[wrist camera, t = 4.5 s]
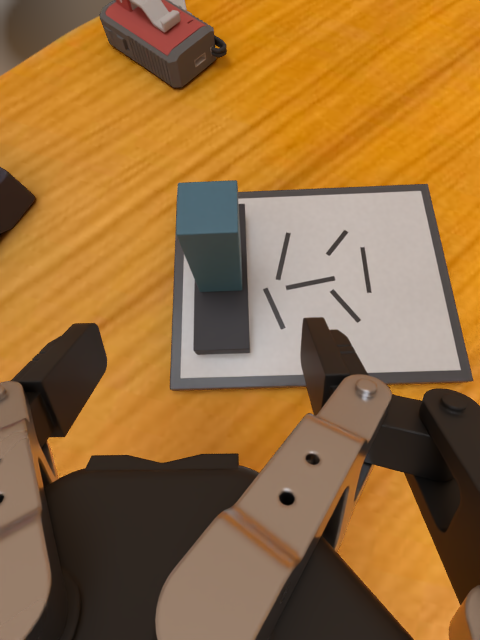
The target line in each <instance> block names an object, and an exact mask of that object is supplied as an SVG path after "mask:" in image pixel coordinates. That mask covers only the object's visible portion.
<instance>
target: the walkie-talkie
mask: <svg viewBox="0 0 480 640" xmlns="http://www.w3.org/2000/svg"><path fill="white" fill-rule="evenodd" d="M99 15H100V20H101V22H102V25H103V27H104V30H105V33H106V35H107V38H108V41H109V43H110V44H111V45H113V46H114V47H115V48H117V49H118V50H120V51H121V52H123V53H124V54H126V55H127V56H128V57H130V58H131V59H133V60H134V61H136V62H138V63H139V64H141V66H144V67H145V68H146V69H148V70H149V71H151V72H152V73H154V74H155V75H156V76H158V77H159V78H161V79H162V80H163V81H165V82H166V83H168V84H169V85H170V86H173V88H175V87H183V86H184V85H186V84H187V83H188V82H189V81H190V80H192V79H193V78H194V77H195V76H197V75H198V74H199V73H200V72H202V71H203V70H204V69H205V68H206V67H208V66H209V65H210V64H211V63H213V62H214V61H215V60H216V57H222V56H224V55H225V54H226V52H227V50H226V44H225V42H224V41H223V40H221V39H220V38H218V37H216V36H215V35H214V30H213V27H211V26H210V25H208V24H206V23H205V22H203V21H202V20H199V19H198V18H196V17H195V16H193V15H192V14H191V13H190V12H188V11H187V9H186V5H185V0H113V1H112V2H110V3H109V4H107V5H106V6H105V7H103V8H102V10H101V12H100V14H99ZM215 45H216V46H218V47H220V48H219V49H218V48H215Z"/></svg>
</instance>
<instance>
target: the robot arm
mask: <svg viewBox="0 0 480 640" xmlns="http://www.w3.org/2000/svg"><path fill="white" fill-rule="evenodd" d="M300 358H301V367H302V371H303V375H304V379H305V382H306V386H307V390H308V394H309V398H310V401H311V405H312V409H313V413H314V415H313V414H311V413H308V414H306V415H305V416H304V417H303V419H302V420H301V421H300V422H299V424H298V425H297V426H296V428H295V429H294V430H293V431H292V433H291V434H290V435H289V436H288V438H287V439H286V440H285V441H284V443H283V444H282V445H281V447H280V448H279V449H278V450H277V452H276V453H275V454H274V455H273V457H272V458H271V459H270V460H269V462H268V463H267V464H266V466H265V467H264V468H263V469H262V471H261V472H260V473H259V472H257V471H255V470H252V469H250V468H247V467H243V466H239V457H238V454H200V455H196V456H192V457H187V458H183V459H179V460H175V461H170V462H166V463H159V462H155V461H150V460H146V459H142V458H138V457H133V456H129V455H99V456H91V458H90V460H89V462H88V465H87V467H86V468H85V469H81V470H78V471H75V472H72V473H70V474H68V475H65V476H63V477H61V478H59V479H58V475H57V471H56V467H55V463H54V460H53V456H52V452H51V448H50V446H49V444H48V442H47V439H48V438H49V437H65V436H66V434H67V433H68V431H69V429H70V428H71V426H72V425H73V423H74V421H75V420H76V418H77V416H78V415H79V413H80V412H81V410H82V408H83V407H84V405H85V403H86V402H87V400H88V399H89V397H90V395H91V394H92V392H93V391H94V389H95V387H96V386H97V384H98V382H99V381H100V379H101V378H102V376H103V374H104V373H105V370H106V367H107V357H106V353H105V349H104V346H103V342H102V339H101V335H100V332H99V328H98V326H97V325H96V324H95V323H77V324H73V325H72V326H71V327H70V328H69V329H68V330H67V331H66V332H65V333H64V334H63V335H62V336H60V337H58V338H57V339H55V340H53V341H52V342H50V343H48V344H47V345H46V346H45V347H44V348H43V349H42V350H41V351H40V352H39V354H37V355H36V356H35V357H34V358H33V360H32V361H30V362H29V363H28V364H27V365H26V366H25V367H24V368H23V369H22V370H21V371H20V372H19V373H18V374H17V375H16V376H15V377H14V378H13V379H12V380H11V381H7V382H1V383H0V640H414V639H413V638H412V637H411V636H410V635H409V634H408V632H407V631H406V630H405V629H404V628H403V627H402V626H401V625H400V623H399V622H398V621H397V620H396V619H395V618H394V617H393V615H392V614H391V613H390V612H389V611H388V610H387V609H386V608H385V606H384V605H383V604H382V603H381V602H380V601H379V600H378V599H377V597H376V596H375V595H374V594H373V593H372V592H371V591H370V589H369V588H368V587H367V586H366V585H365V584H364V583H363V582H362V580H361V579H360V578H359V577H358V576H357V575H356V574H355V573H354V571H353V570H352V569H351V568H350V567H349V566H348V565H347V564H346V562H345V561H344V560H343V559H342V558H341V557H340V556H339V554H338V553H337V551H338V549H339V547H340V545H341V543H342V540H343V538H344V535H345V533H346V530H347V527H348V524H349V521H350V518H351V515H352V513H353V510H354V508H355V506H356V504H357V502H358V499H359V497H360V495H361V493H362V491H363V488H364V486H365V484H366V482H367V480H368V478H369V475H370V473H371V471H372V469H373V467H374V465H378V466H381V467H385V468H389V469H393V470H396V471H400V472H404V474H405V476H406V478H407V481H408V483H409V485H410V488H411V490H412V492H413V495H414V497H415V499H416V502H417V504H418V506H419V509H420V511H421V514H422V516H423V518H424V521H425V523H426V525H427V528H428V530H429V532H430V535H431V537H432V539H433V542H434V544H435V546H436V549H437V551H438V554H439V556H440V558H441V561H442V563H443V565H444V568H445V570H446V572H447V575H448V577H449V579H450V582H451V584H452V587H453V589H454V591H455V594H456V596H457V598H458V601H459V603H460V605H461V606H460V607H459V609H458V610H457V612H456V613H455V615H454V616H453V618H452V620H451V622H450V626H449V640H480V406H479V405H478V404H477V403H476V402H475V401H474V400H472V399H471V398H469V397H467V396H466V395H464V394H461V393H459V392H456V391H453V390H449V389H432V390H429V391H427V392H426V393H425V394H424V397H423V400H422V401H420V400H415V399H410V398H405V397H400V396H396V395H393V394H392V393H391V390H390V388H389V387H388V386H387V385H386V384H385V383H384V382H382V381H381V380H379V379H377V378H375V377H372V376H369V375H368V373H367V371H366V370H365V368H364V366H363V364H362V362H361V361H360V359H359V357H358V355H357V353H356V351H355V350H354V348H353V346H352V344H351V342H350V341H349V339H348V337H347V336H346V335H345V334H343V333H342V332H341V331H339V330H338V329H335V330H329V328H328V325H327V323H326V321H325V319H324V318H323V317H309V318H303V323H302V337H301V351H300Z"/></svg>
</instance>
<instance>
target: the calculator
mask: <svg viewBox="0 0 480 640" xmlns="http://www.w3.org/2000/svg"><path fill="white" fill-rule="evenodd" d="M34 200H35V196H34V195H33V194H32V193H31V192H30V191H29V190H27V189H26V188H25V187H24V186H23V185H22V184H21V183H20V182H19V181H18V180H16V179H15V178H14V177H13V176H12V175H11V174H10V173H9V172H7V171H6V170H5V169H3V168H1V167H0V234H1V233H3V232H5V231H8V230H10V229H12V228H13V227H14V226H15V224H16V223H17V222H18V221H19V219H20V218H21V217H22V216H23V214H24V213H25V212H26V211H27V209H28V208H29V207H30V206H31V204H32V203H33V202H34Z"/></svg>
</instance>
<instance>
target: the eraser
mask: <svg viewBox="0 0 480 640" xmlns="http://www.w3.org/2000/svg"><path fill="white" fill-rule="evenodd" d="M176 236H177V238H178V241H179V243H180V245H181V248H182V250H183V253H184V255H185V257H186V260H187V262H188V265H189V267H190V269H191V272H192V274H193V277H194V279H195V284H194V342H193V351H194V352H195V353H196V354H197V355H206V354H239V353H250V337H249V308H248V279H247V250H246V221H245V204H238V187H237V181H236V180H235V181H212V182H189V183H178V192H177V219H176Z"/></svg>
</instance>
